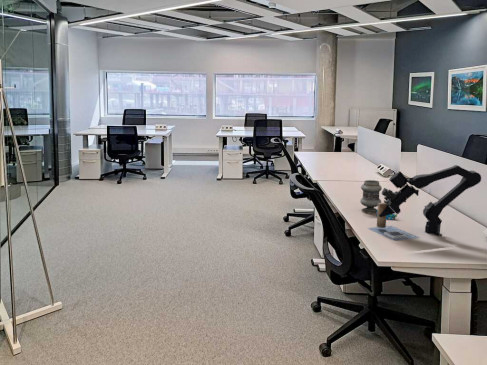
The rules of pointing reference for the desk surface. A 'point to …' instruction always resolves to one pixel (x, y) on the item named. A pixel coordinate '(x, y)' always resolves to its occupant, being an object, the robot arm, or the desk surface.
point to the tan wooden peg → (381, 220)
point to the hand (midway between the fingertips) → (379, 215)
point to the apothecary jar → (370, 195)
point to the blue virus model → (392, 216)
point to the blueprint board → (390, 229)
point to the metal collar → (390, 234)
